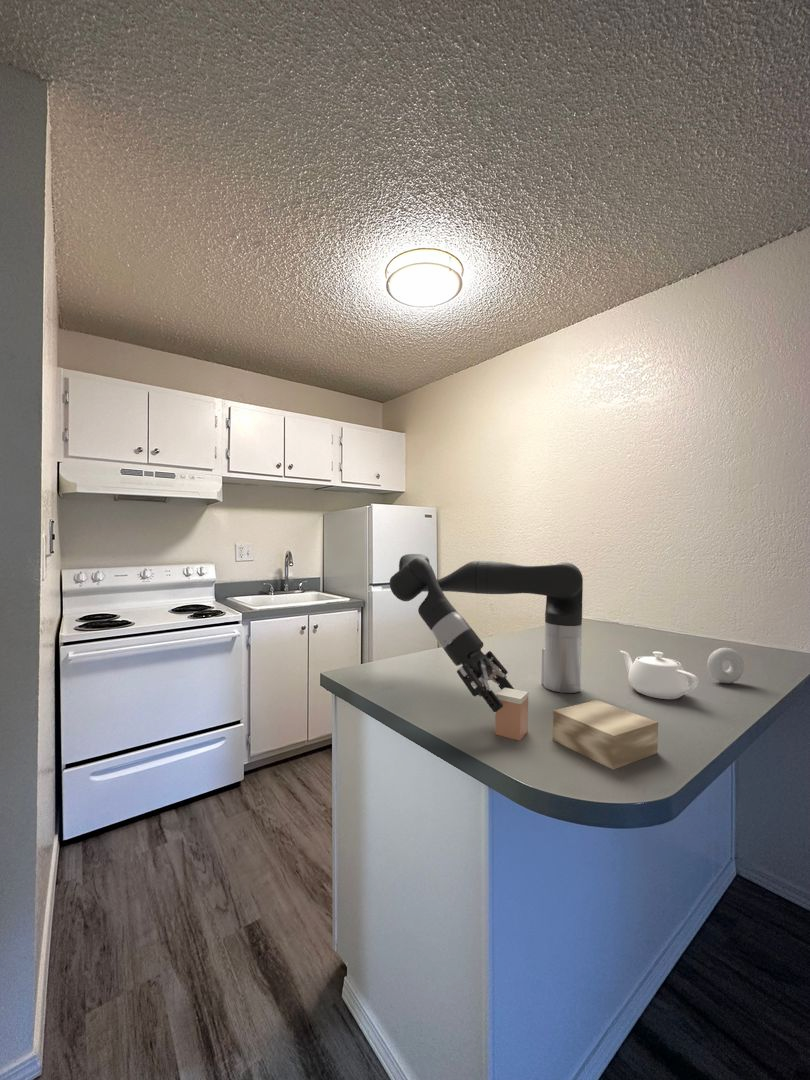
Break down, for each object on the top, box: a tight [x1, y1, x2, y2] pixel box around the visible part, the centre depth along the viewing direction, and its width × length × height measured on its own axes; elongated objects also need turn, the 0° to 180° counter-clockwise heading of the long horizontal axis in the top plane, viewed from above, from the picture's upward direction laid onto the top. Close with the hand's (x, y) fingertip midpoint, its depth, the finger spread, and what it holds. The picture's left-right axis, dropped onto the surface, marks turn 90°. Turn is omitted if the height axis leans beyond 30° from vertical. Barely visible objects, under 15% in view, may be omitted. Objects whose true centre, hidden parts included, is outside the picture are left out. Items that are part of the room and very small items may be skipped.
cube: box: [494, 688, 529, 741], centre depth 90 cm, size 5×5×8 cm
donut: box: [706, 647, 746, 684], centre depth 127 cm, size 10×4×10 cm, turn 92°
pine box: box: [552, 699, 659, 770], centre depth 85 cm, size 13×13×6 cm
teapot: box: [619, 650, 699, 700], centre depth 118 cm, size 22×14×11 cm, turn 24°
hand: (506, 703), depth 90 cm, fingers open, 8 cm apart
